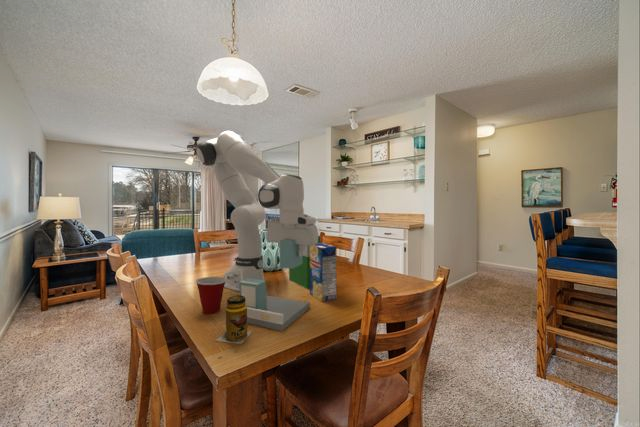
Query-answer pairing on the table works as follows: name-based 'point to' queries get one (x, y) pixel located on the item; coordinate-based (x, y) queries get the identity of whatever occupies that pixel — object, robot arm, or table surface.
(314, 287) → the beverage box
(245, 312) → the condiment
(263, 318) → the shelf board
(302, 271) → the hardback book
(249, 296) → the carton
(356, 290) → the table surface
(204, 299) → the plastic cup
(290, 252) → the carton
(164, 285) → the table surface
